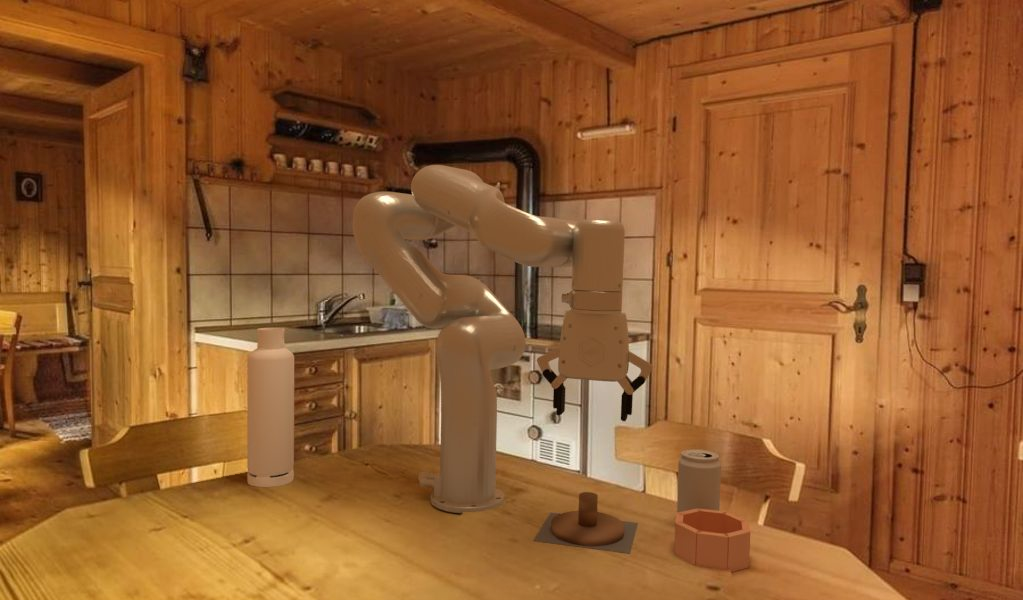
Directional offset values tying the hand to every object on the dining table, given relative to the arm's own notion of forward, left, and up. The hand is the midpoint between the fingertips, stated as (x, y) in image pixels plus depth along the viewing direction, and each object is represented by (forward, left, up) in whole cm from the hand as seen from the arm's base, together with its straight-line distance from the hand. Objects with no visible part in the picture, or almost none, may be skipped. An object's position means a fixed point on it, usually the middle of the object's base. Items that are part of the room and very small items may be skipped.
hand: (591, 416), depth 104 cm
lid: (0, 0, -18) cm, 18 cm away
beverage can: (+16, +8, -18) cm, 26 cm away
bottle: (-60, +7, -18) cm, 63 cm away
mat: (0, 0, -18) cm, 18 cm away
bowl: (+18, -2, -18) cm, 26 cm away
